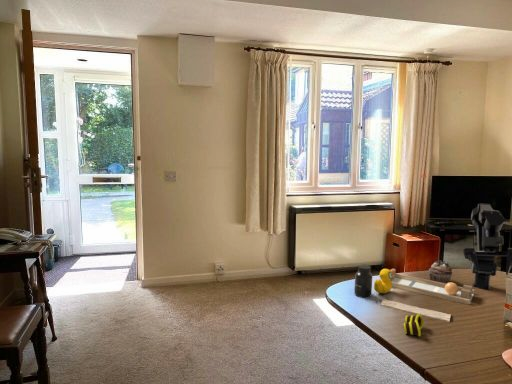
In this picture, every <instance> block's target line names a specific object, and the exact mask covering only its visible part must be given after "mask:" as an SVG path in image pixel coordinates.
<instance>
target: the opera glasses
mask: <svg viewBox="0 0 512 384" xmlns="http://www.w3.org/2000/svg"><path fill="white" fill-rule="evenodd" d="M423 317H424V316H422V315H420V314H418V315H417V314H416V315H415V314H414V315H412V314H411V315H405V318H404V319H405V322H403V329H404V334H405V335H412V336H413V335H414V336H415V335H416V336H418V338H419V337H421V335H422V334H421V330H422V329H423V326H424V318H423Z"/></svg>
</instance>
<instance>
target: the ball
mask: <svg viewBox="0 0 512 384" xmlns="http://www.w3.org/2000/svg"><path fill="white" fill-rule="evenodd" d="M445 291H446V292H447V293H448V294H451V295H454V294H456V293H457V292H458V284H456V283H454V282H452V281H450V282H449V283H447V284H446V285H445Z"/></svg>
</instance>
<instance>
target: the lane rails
mask: <svg viewBox="0 0 512 384" xmlns="http://www.w3.org/2000/svg"><path fill="white" fill-rule="evenodd" d="M389 270H390V271H391V270H394V275H393V276H392V278H391V280H390V281H392V280H393V279H394V278H400V279H405V280H409V281H414V282H419V283H423V284H428V285H433V286H437V287H442V288H445V285H446V284H445V283H440V282H435V281H430V279H425V278H420V277H415V276H412V275H411V276H410V275H405V274H401V273H397V272H396V271H397V270H396V268H391V269H389ZM457 286H458V285H457ZM392 288H393V289H399V290H403V291H408V292H412V293H417V294H422V295H427V296H430V297H434V298H439V299H444V300H448V301H452V302H456V303H460V304H465V305H470V304H471V302H470V299H465V298H461V297H456V296H452V295H447V294H443V293H438V292H434V291H429V290H425V289H421V288H416V287H412V286H407V285H403V284H398V283H394V282H392ZM462 288H463V286H458V291H461V290H462ZM472 294H474V295H475V289H473V288H472Z"/></svg>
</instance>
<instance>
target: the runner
mask: <svg viewBox="0 0 512 384" xmlns="http://www.w3.org/2000/svg"><path fill="white" fill-rule="evenodd" d="M391 282H394V283H398V284H403V285H407V286H412V287H416V288H421V289H425V290H429V291H434V292H438V293H443V294H447V295H451V294H448V293H447V292H446V291H445V288H442V287H437V286H433V285H428V284H423V283H419V282H414V281H409V280H405V279H400V278H394V279H393V280H392V281H391ZM474 295H475V293H474V294H472V296H471V298H470V303H471V302H472V299H473V297H474ZM452 296H456V297H461V291H458V292H457V293H456V294H454V295H452Z"/></svg>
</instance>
